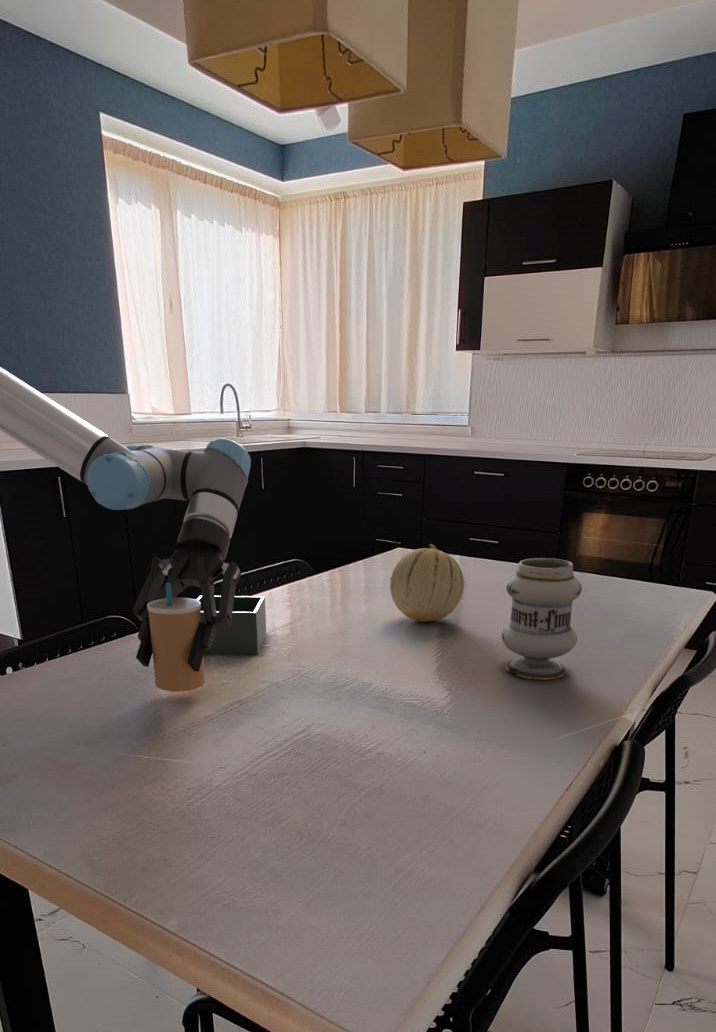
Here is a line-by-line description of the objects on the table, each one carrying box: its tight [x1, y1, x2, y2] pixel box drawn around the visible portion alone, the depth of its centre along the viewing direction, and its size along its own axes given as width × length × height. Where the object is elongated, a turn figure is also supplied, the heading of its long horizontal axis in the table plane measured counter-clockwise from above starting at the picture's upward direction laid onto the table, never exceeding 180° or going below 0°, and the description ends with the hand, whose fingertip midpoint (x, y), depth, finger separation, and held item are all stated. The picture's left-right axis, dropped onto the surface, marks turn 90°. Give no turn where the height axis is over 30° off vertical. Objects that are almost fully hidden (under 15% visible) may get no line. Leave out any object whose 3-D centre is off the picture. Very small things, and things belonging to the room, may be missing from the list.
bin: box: [195, 595, 267, 656], centre depth 139 cm, size 12×12×8 cm
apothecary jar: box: [501, 557, 583, 681], centre depth 125 cm, size 12×12×18 cm
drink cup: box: [147, 582, 206, 692], centre depth 111 cm, size 8×8×15 cm
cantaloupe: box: [389, 543, 465, 623], centre depth 155 cm, size 15×15×15 cm
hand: (167, 664), depth 109 cm, fingers closed on drink cup, 7 cm apart
